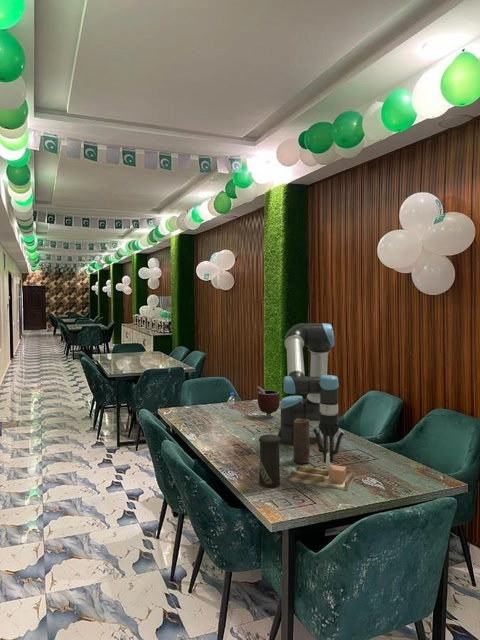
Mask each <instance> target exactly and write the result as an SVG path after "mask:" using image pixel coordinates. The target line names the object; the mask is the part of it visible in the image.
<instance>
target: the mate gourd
mask: <svg viewBox="0 0 480 640" xmlns="http://www.w3.org/2000/svg"><path fill="white" fill-rule="evenodd" d="M256 388H257V389H259V391H258V395H257V406H258V408H259V410H260V412H262V413H264V414H266V415H263V416H262V415H261V416H259V418H258V420H259V421H260V422H261V421H262V422H277V421H279V417H278V416H276V415H272V413H275V412H277V411H278V409H279V408H280V405H281V400H280V399H281V398H280V392H279V391H277V390H273V389H272V390H271V389H267V390H264V389H263V388H262V387H260V386H256Z"/></svg>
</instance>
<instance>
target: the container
mask: <svg viewBox="0 0 480 640" xmlns="http://www.w3.org/2000/svg"><path fill="white" fill-rule="evenodd" d="M277 435H278V434H263V435H261V436H259V437H258V442H259V466H258V467H259V468H258V469H259V472H258V474H259V475H258V478H259V479H258V484H259V486H261V487H263V488H267V489H274V488H275V489H276V488H278V487H280V486H281V469H280V467H281V465H280V463H281V461H280V459H281V458H280V443H281V442H280V441H281V438H280V437H279V436H277Z"/></svg>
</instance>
